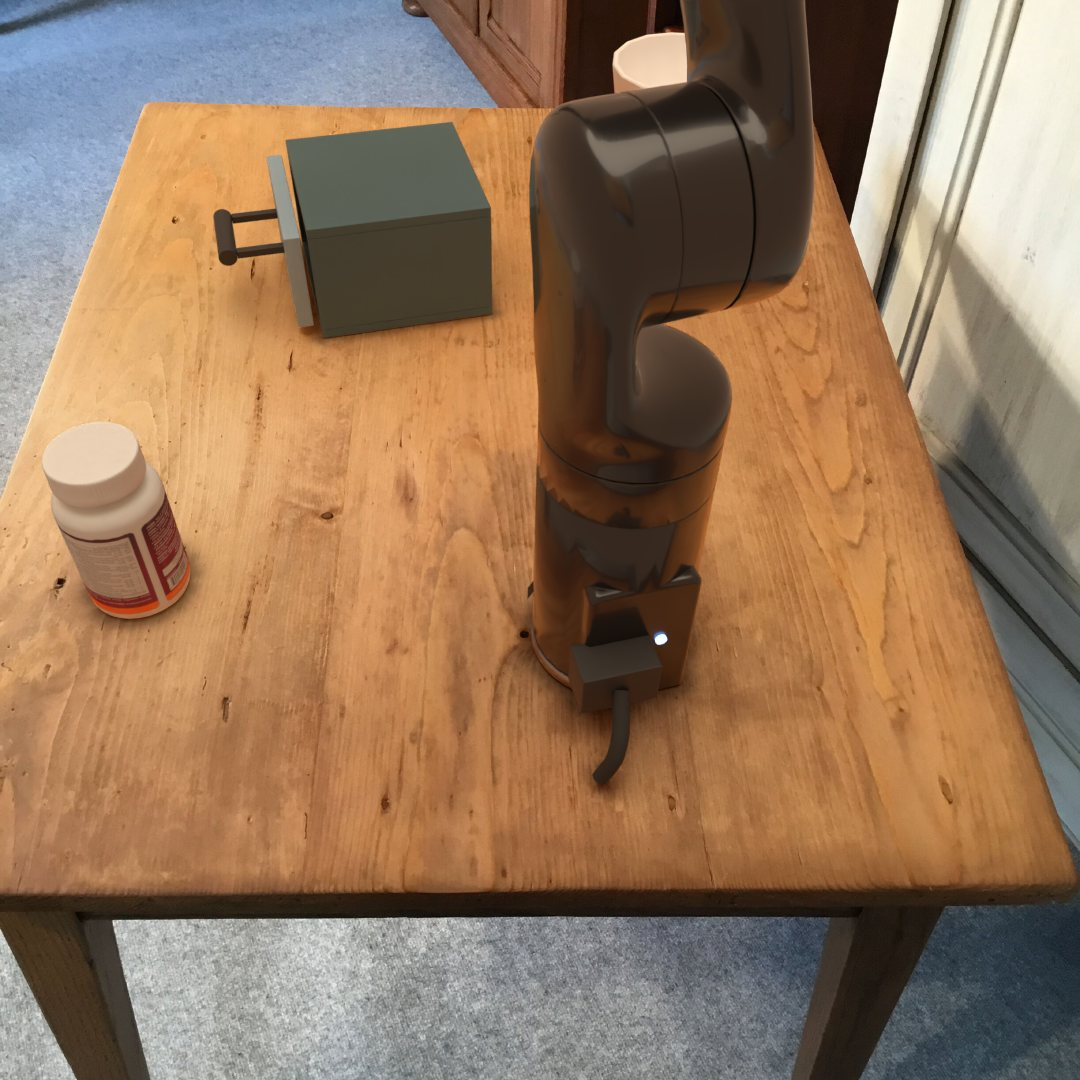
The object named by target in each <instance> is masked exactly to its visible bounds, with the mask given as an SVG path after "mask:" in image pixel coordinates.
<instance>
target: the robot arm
mask: <svg viewBox="0 0 1080 1080" xmlns="http://www.w3.org/2000/svg"><path fill="white" fill-rule="evenodd" d="M679 4H680V9H681V16H682V23H683V31H684V32H683V33H685V42H686V55H687V82H683V83H677V84H670V85H664V86H657V87H651V88H645V89H638V90H632V91H625V92H620V93H615V92H614V93H613V92H612V93H608V94H602V95H601V94H600V95H596V96H589V97H588V96H587V97H583V98H578V99H573V100H570V101H567V102H563V103H561V104H559V105H557V106H555V107H554V108H553V109H551V110H550V112H549V113H548V114H547V115H546V116H545V117H544V119H543V121H542V123H541V124H540V126H539V128H538V131H537V134H536V136H535V139H534V143H533V148H532V153H531V157H530V166H529V167H530V168H529V178H528V179H529V180H528V181H529V183H528V205H529V206H528V207H529V210H528V211H529V213H528V215H529V231H530V232H529V233H530V251H531V267H532V268H531V269H532V271H531V272H532V297H533V298H532V299H533V349H534V352H533V353H534V360H535V361H534V363H535V372H536V373H535V374H536V382H537V383H536V384H537V397H538V398H537V442H536V443H537V445H536V446H537V447H536V448H537V449H536V468H535V469H536V471H535V508H534V541H533V542H534V543H533V544H534V546H533V579H532V582H531V583H530V584H529V585H528V586H527V590H526V591H527V595H526V597H527V600H529V598H530V597H531V596H532V597H533V598H532V613H531V617H530V639H531V645H532V648H533V651H534V653H535V656H536V657H537V660H538V661H539V663H540V664H541V665H542V667H543V668H544V669H545V670H546V672H548V674H549V675H551V676H552V677H553V678H554V679H555V680H556V681H558V682H559V683H561V684H562V685H564V686H566V687H567V688H569V689H571V690H572V694H573V696H574V698H575V702H576V704H577V707H578V710H579V713H580V714H581V715H584V714H588V713H593V712H598V711H603V710H607V709H611V733H610V734H611V735H610V740H609V746H608V749H607V753H606V755H605V757H604V759H603V760H602V761H601V762H600V763H599V765H598V766H597V767H596V768H595V769H594V771H593V772H592V774H591V775H592V780H593V781H594V782H595V783H597V784H598V785H601V786H604V785H607V784H608V783H609V782H610V780H612V778H613V776H614V775H615V774H616V773H617V772H618V770H619V769H620V768H621V766H622V765H623V762H624V760H625V758H626V754H627V751H628V748H629V742H630V731H631V704H635V703H639V702H644V701H648V700H653V699H656V698H657V697H658V694H659V690H661V689H667V688H670V687H675V686H678V685H680V684H682V682H683V677H684V672H685V667H686V662H687V657H688V653H689V647H690V644H691V639H692V632H693V627H694V624H695V618H696V613H697V608H698V603H699V599H700V593H701V590H702V589H701V588H702V585H703V584H702V583H703V581H702V576H701V575H700V568H701V562H702V558H703V552H704V547H705V543H706V537H707V531H708V526H709V522H710V517H711V511H712V507H713V506H712V505H713V501H714V495H715V491H716V485H717V480H718V477H719V472H720V466H721V463H722V462H721V461H722V456H723V450H724V446H725V441H726V437H727V433H728V429H729V422H730V418H731V413H732V405H733V388H732V383H731V379H730V376H729V373H728V371H727V369H726V367H725V365H724V364H723V362H722V361H721V360H720V359H719V357H718V355H716V354H715V353H714V351H713V350H712V349H710V348H709V347H708V346H707V345H705V343H703V342H702V341H700V340H699V339H697V338H696V337H695V336H692V335H690V334H689V333H688V332H685V331H682V330H680V329H678V328H676V327H674V326H670V325H668V324H667V323H672V322H677V321H682V320H686V319H690V318H696V317H700V316H704V315H709V314H714V313H718V312H722V311H723V312H724V311H728V310H732V309H736V308H740V307H744V306H748V305H753V304H756V303H759V302H762V301H763V302H764V301H765V300H768V299H770V298H773V297H775V296H777V295H779V294H780V293H781V292H782V291H784V290H785V289H787V288H788V287H789V285H791V284H792V282H793V281H794V279H795V277H796V276H797V275H798V272H799V270H800V268H801V266H802V265H803V263H804V260H805V256H806V253H807V250H808V244H809V239H810V236H811V231H812V228H813V227H812V226H813V217H814V208H815V207H814V206H815V184H816V183H815V180H816V179H815V174H816V173H815V171H816V170H815V169H816V168H815V167H816V166H815V138H814V137H815V136H814V135H815V134H814V119H813V117H814V116H813V115H814V114H813V100H812V97H813V96H812V85H811V84H812V83H811V70H810V55H809V42H808V41H809V40H808V39H809V38H808V26H807V12H806V11H807V9H806V0H679Z"/></svg>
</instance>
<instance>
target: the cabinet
mask: <svg viewBox="0 0 1080 1080" xmlns="http://www.w3.org/2000/svg"><path fill="white" fill-rule="evenodd" d="M285 147H286V154H287V159H288V165H289V170H290V171H289V172H290V178H291V185H292V190H293V197H294V203H295V209H296V215H297V222H298V227H299V228H298V229H299V235H300V241H301V247H302V252H303V256H304V259H305V260H304V261H305V263H306V269H307V273H308V277H309V281H310V286H311V291H312V296H313V298H314V300H313V301H314V305H315V308H316V314H317V318H318V322H319V326H320V331H321V334H322V338H323V339H329V338H335V337H337V338H338V337H343V336H350V335H358V334H365V333H371V332H379V331H385V330H393V329H398V328H404V327H413V326H420V325H426V324H433V323H441V322H446V321H456V320H461V319H467V318H475V317H481V316H488V315H493V257H492V256H493V253H492V251H493V250H492V249H493V247H492V246H493V245H492V244H493V243H492V241H493V240H492V207H491V204H490V202H489V199H488V197H487V195H486V193H485V192H484V191H485V190H484V188H483V187H482V185H481V183H480V180H479V177H478V176H477V173H476V171H475V169H474V167H473V164H472V162H471V160H470V158H469V156H468V154H467V151H466V149H465V147H464V145H463V142H462V140H461V138H460V136H459V133H458V131H457V129H456V126H455V124H454V122H453V121H447V122H437V123H428V124H419V125H409V126H400V127H392V128H391V127H390V128H383V129H372V130H364V131H355V132H354V131H353V132H345V133H337V134H335V133H334V134H326V135H316V136H308V137H298V138H291V139H289V138H288V139H285Z"/></svg>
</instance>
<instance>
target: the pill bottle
mask: <svg viewBox="0 0 1080 1080" xmlns="http://www.w3.org/2000/svg"><path fill="white" fill-rule="evenodd" d="M41 467H42V472H43V474H44V476H45V478H46V481H47V483H48V487H49V488H50V489H49V490H51V496H50V507H51V509H50V510H51V513H52V515H53V518H54V521H55V524H56V525H57V528H58V530H59V532H60V534H61V536H62V538H63V540H64V543H65V545H66V547H67V550H68V551H69V554H70V555H71V558H72V560H73V562H74V564H75V566H76V569H77V571H78V573H79V577H80V578H81V580H82V582H83V585H84V588H85V590H86V591H87V593H88V595H89V597H90V599H91V602H93V603H94V605H95V606H96V607H97V608H98V609H99V610H100V611H102V612H103V613H105V614H106V615H109V616H112V617H114V618H120V619H126V620H127V619H128V620H129V619H140V618H146V617H151V616H153V615H155V614H158V613H161V612H163V611H164V610H166V609H168V608H169V607H171V606H172V605H174V604H175V603H176V602H177V601H179V599H180V598H181V597H182V596H183V594H184V593H185V592H186V589H187V588H188V586H189V583H190V579H191V565H190V561H189V558H188V554H187V551H186V549H185V546H184V543H183V540H182V539H183V538H182V536H181V533H180V530H179V527H178V525H177V522H176V518H175V516H174V512H173V509H172V506H171V503H170V501H169V499H168V495H167V492H166V489H165V484H164V483H163V480H162V478H161V476H160V474H159V472H158V471H157V469H156V468H155V467H154V466H153V465H151V463H149V462H148V461H146V458H145V455H144V453H143V452H142V448H141V445H140V442H139V440H138V438H137V435H136V434H135V433H134V432H133V431H132V430H131V429H130V428H128V427H127V426H124V425H122V424H119V423H116V422H111V421H91V422H85V423H82V424H77V425H74V426H72V427H70V428H68V429H66V430H64V431H62V432H60V433H58V435H56V436H55V437H53V439H52V440H50V442H49V443H48V444H47V446H46V447H45V449H44V451H43V453H42V456H41Z"/></svg>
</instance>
